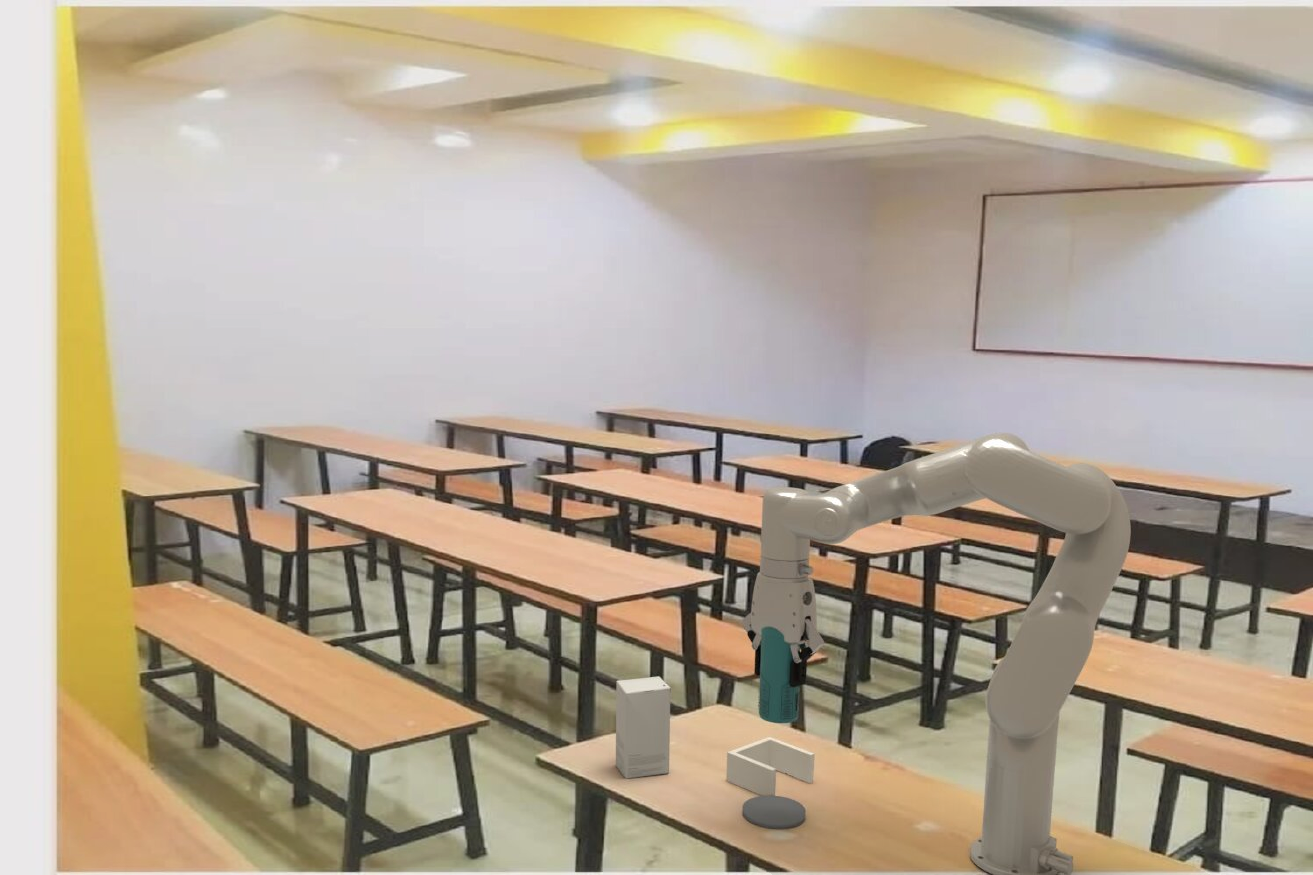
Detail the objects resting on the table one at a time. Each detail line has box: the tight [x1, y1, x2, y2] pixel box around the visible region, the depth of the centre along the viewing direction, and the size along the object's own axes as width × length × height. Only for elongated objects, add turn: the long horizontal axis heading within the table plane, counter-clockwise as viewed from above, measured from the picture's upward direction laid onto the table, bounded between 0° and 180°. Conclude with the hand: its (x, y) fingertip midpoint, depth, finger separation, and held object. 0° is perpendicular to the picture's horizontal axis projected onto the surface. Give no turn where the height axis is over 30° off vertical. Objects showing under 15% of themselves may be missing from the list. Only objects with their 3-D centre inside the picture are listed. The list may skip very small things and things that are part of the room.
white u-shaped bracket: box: [725, 736, 815, 796], centre depth 198 cm, size 10×11×5 cm
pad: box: [742, 795, 807, 830], centre depth 185 cm, size 10×10×1 cm
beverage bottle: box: [757, 627, 801, 724], centre depth 182 cm, size 6×7×20 cm
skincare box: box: [615, 675, 672, 780], centre depth 201 cm, size 8×7×16 cm
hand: (779, 678), depth 183 cm, fingers closed on beverage bottle, 6 cm apart
